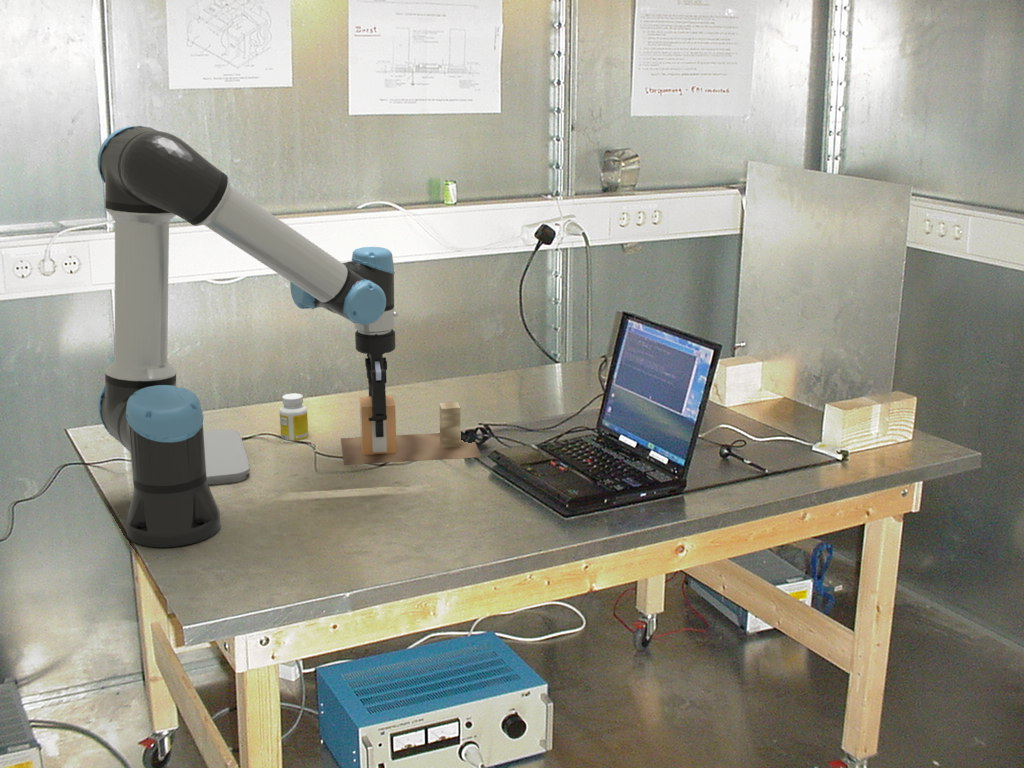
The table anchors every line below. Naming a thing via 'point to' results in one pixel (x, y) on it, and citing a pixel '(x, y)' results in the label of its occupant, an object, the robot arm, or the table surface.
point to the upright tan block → (367, 425)
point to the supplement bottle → (293, 418)
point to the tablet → (225, 456)
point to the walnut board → (408, 450)
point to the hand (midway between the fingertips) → (378, 445)
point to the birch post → (450, 425)
